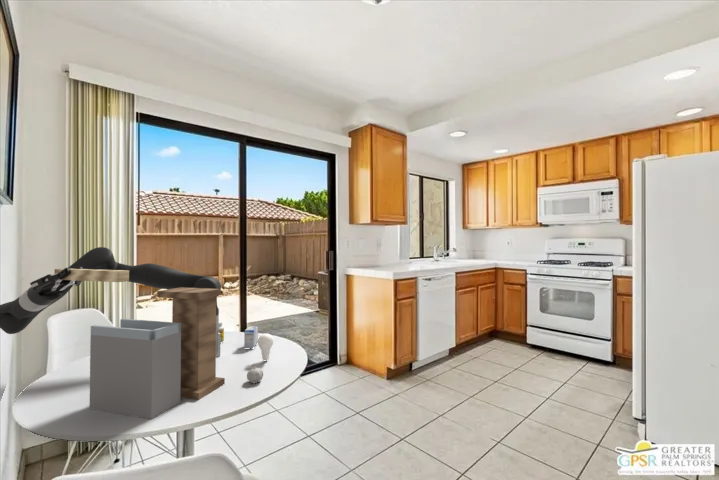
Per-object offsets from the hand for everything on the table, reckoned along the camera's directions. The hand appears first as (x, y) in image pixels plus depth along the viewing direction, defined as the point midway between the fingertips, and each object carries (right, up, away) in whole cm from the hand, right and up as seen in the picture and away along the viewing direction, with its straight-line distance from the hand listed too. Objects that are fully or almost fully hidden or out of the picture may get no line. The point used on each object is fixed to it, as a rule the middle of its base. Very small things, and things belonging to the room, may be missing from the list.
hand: (75, 269), depth 105 cm
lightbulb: (+51, -40, +31) cm, 71 cm away
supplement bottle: (+20, -40, +57) cm, 73 cm away
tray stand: (+24, -39, -7) cm, 46 cm away
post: (+33, -39, +5) cm, 51 cm away
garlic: (+53, -40, +10) cm, 67 cm away
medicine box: (+39, -40, +50) cm, 75 cm away
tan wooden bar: (+6, -3, -2) cm, 7 cm away
